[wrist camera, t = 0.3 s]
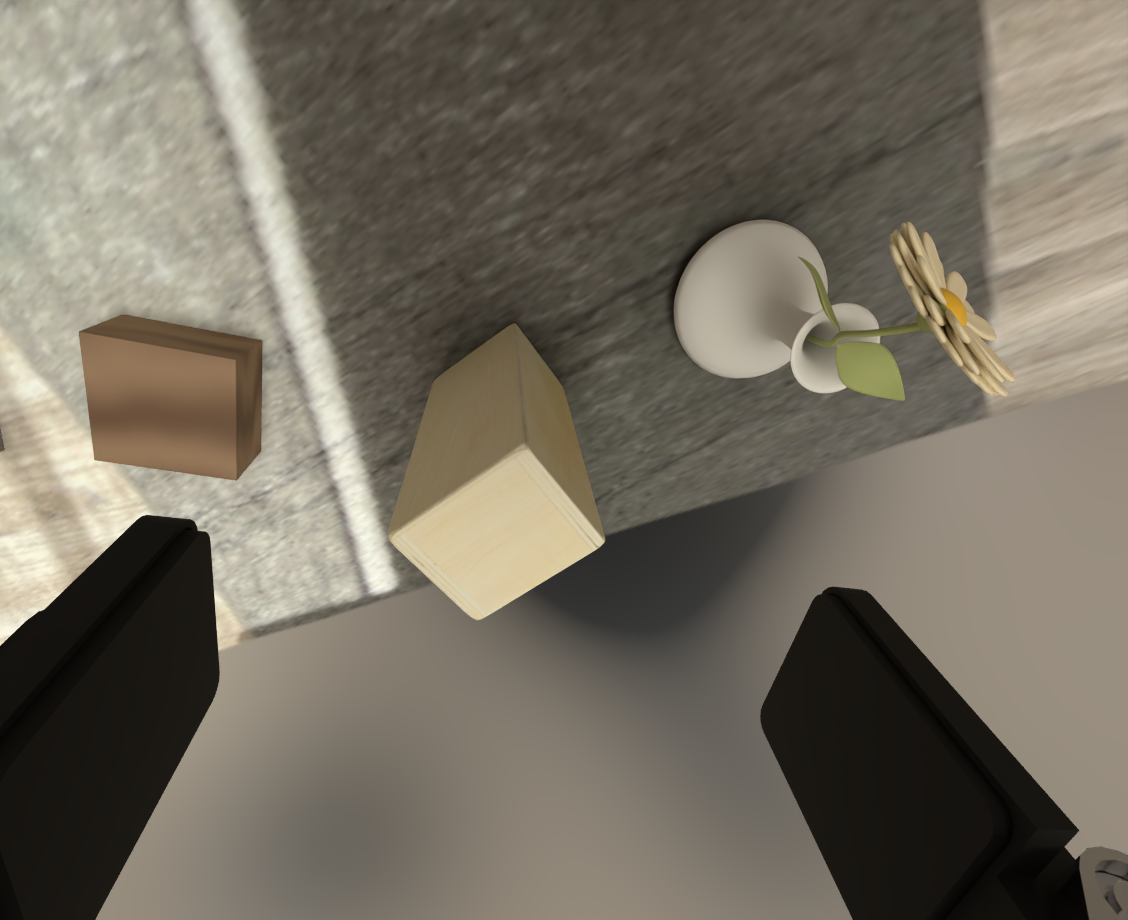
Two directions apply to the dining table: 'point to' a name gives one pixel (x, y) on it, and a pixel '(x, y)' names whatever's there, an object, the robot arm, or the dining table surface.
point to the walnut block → (173, 396)
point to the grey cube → (1, 443)
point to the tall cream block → (495, 480)
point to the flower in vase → (819, 313)
